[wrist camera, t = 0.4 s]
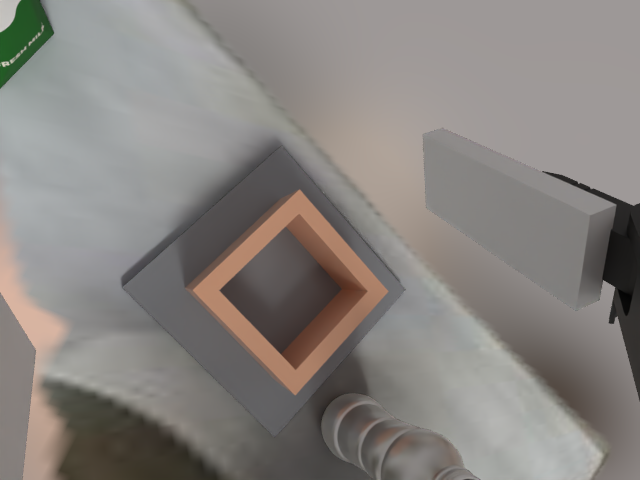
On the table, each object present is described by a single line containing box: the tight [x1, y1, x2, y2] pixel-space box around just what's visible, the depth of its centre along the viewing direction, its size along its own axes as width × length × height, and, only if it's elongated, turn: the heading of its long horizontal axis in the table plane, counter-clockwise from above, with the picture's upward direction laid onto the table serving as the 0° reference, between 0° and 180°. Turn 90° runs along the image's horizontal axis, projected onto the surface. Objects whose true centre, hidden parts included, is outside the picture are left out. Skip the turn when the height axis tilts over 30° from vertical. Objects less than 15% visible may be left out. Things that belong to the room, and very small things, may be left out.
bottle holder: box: [122, 146, 406, 437], centre depth 47 cm, size 20×20×7 cm
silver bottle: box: [321, 393, 480, 480], centre depth 43 cm, size 6×7×20 cm
